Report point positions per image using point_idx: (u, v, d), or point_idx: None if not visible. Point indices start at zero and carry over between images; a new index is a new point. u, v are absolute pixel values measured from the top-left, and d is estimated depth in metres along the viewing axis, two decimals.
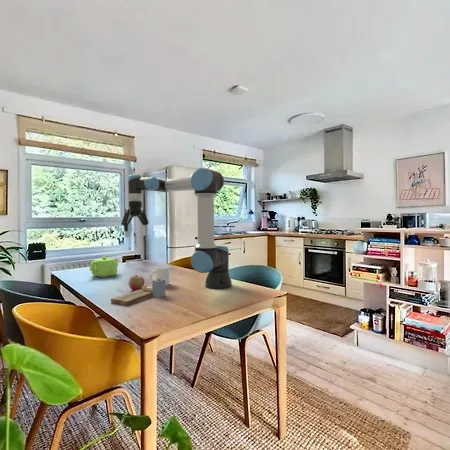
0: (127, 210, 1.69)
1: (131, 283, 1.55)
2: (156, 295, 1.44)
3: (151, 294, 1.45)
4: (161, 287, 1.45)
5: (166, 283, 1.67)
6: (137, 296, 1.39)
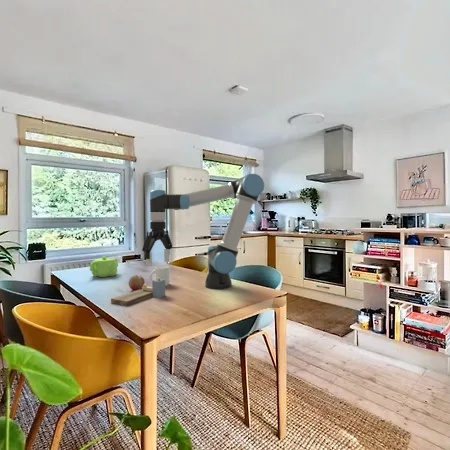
0: (149, 233, 1.39)
1: (131, 283, 1.55)
2: (156, 295, 1.44)
3: (151, 294, 1.45)
4: (161, 287, 1.45)
5: (166, 283, 1.67)
6: (137, 296, 1.39)
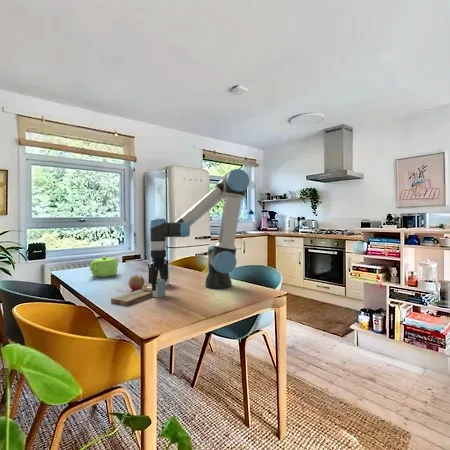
0: (150, 266, 1.40)
1: (131, 283, 1.55)
2: None
3: (151, 294, 1.45)
4: (161, 287, 1.45)
5: (166, 283, 1.67)
6: (137, 296, 1.39)
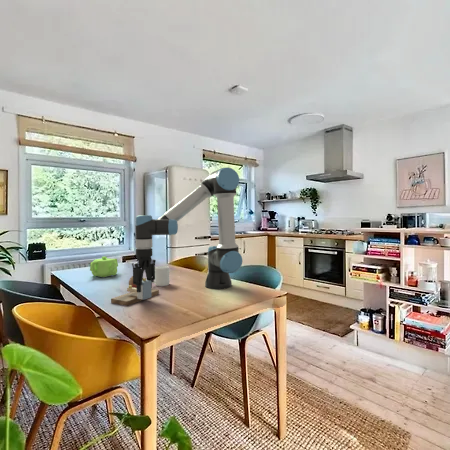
0: (135, 266, 1.31)
1: (131, 283, 1.55)
2: None
3: (151, 294, 1.45)
4: (147, 289, 1.36)
5: (166, 283, 1.67)
6: None
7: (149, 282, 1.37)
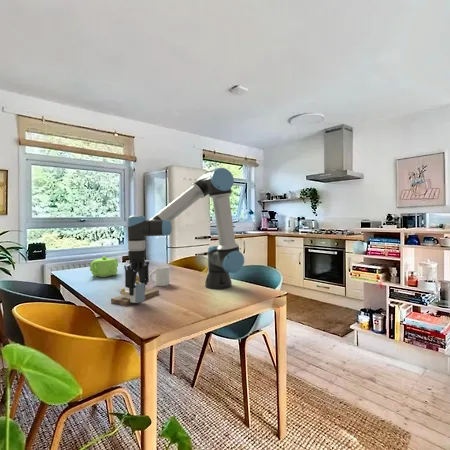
0: (127, 268, 1.27)
1: None
2: None
3: (151, 294, 1.45)
4: (140, 292, 1.32)
5: (166, 283, 1.67)
6: None
7: (142, 285, 1.33)
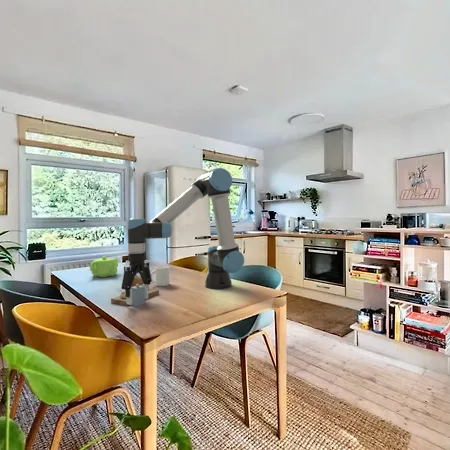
0: (126, 269, 1.26)
1: None
2: (134, 303, 1.31)
3: (151, 294, 1.45)
4: (140, 295, 1.32)
5: (166, 283, 1.67)
6: None
7: (142, 288, 1.33)
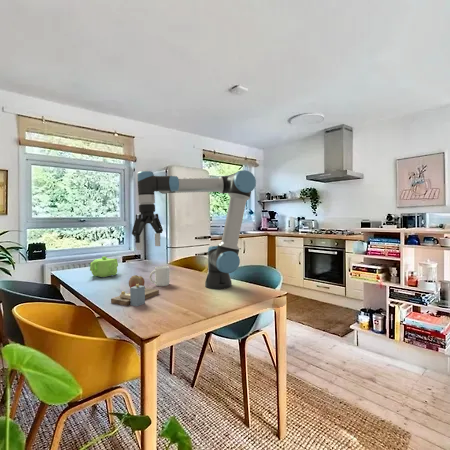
0: (138, 216, 1.34)
1: (131, 283, 1.55)
2: (134, 303, 1.31)
3: (151, 294, 1.45)
4: (140, 295, 1.32)
5: (166, 283, 1.67)
6: None
7: (142, 288, 1.33)
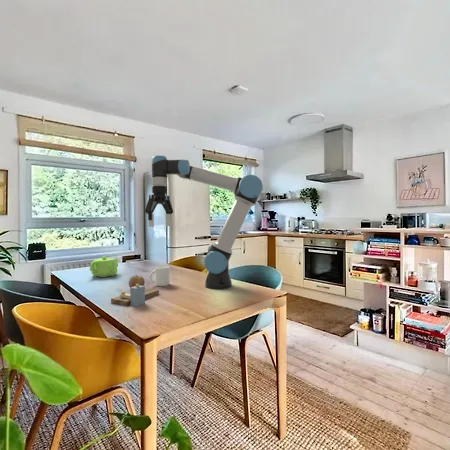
0: (151, 196, 1.47)
1: (131, 283, 1.55)
2: (134, 303, 1.31)
3: (151, 294, 1.45)
4: (140, 295, 1.32)
5: (166, 283, 1.67)
6: None
7: (142, 288, 1.33)
